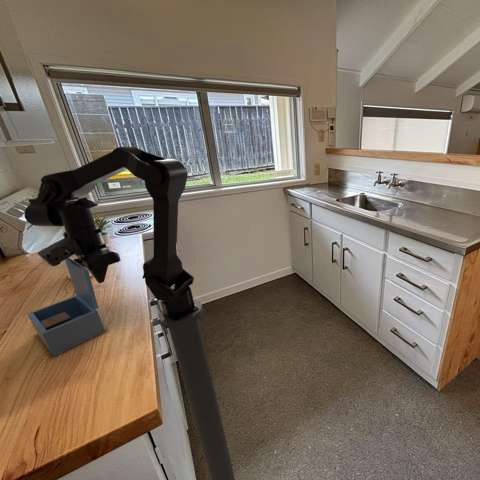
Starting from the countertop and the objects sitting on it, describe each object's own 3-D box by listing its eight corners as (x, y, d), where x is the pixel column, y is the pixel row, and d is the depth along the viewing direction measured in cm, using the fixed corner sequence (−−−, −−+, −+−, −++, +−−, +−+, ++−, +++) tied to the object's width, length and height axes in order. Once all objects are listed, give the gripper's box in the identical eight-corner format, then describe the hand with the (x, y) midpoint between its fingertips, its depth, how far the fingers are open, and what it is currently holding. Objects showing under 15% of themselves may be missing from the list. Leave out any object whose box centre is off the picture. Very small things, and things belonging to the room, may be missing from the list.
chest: (53, 356, 57) (42, 334, 55) (37, 334, 64) (26, 313, 62) (105, 331, 65) (97, 310, 62) (85, 313, 72) (77, 294, 69)
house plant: (103, 254, 111) (91, 218, 105) (72, 254, 112) (58, 218, 106) (127, 242, 125) (117, 209, 119) (100, 242, 125) (88, 210, 119)
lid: (83, 271, 59) (88, 270, 60) (64, 258, 66) (68, 257, 67) (94, 309, 62) (98, 308, 63) (75, 293, 69) (79, 292, 70)
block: (71, 325, 66) (64, 311, 64) (77, 332, 64) (70, 317, 62) (47, 336, 62) (40, 321, 61) (52, 343, 60) (45, 327, 59)
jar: (69, 282, 88) (55, 251, 84) (68, 274, 94) (56, 244, 90) (102, 274, 94) (91, 243, 90) (99, 267, 100) (89, 238, 95)
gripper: (23, 229, 61) (49, 286, 66) (45, 244, 51) (73, 309, 57) (83, 217, 70) (101, 269, 75) (111, 228, 60) (130, 287, 65)
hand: (101, 282), depth 68 cm, fingers closed
